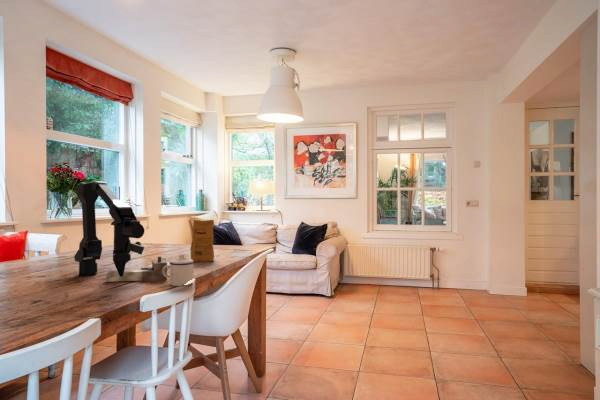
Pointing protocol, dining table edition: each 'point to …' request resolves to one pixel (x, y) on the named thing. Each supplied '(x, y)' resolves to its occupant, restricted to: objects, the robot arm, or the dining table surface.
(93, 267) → the robot arm
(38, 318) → the dining table surface
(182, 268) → the teacup with lid
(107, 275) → the rail
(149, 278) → the knobbed grey box
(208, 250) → the coffee package
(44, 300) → the dining table surface
